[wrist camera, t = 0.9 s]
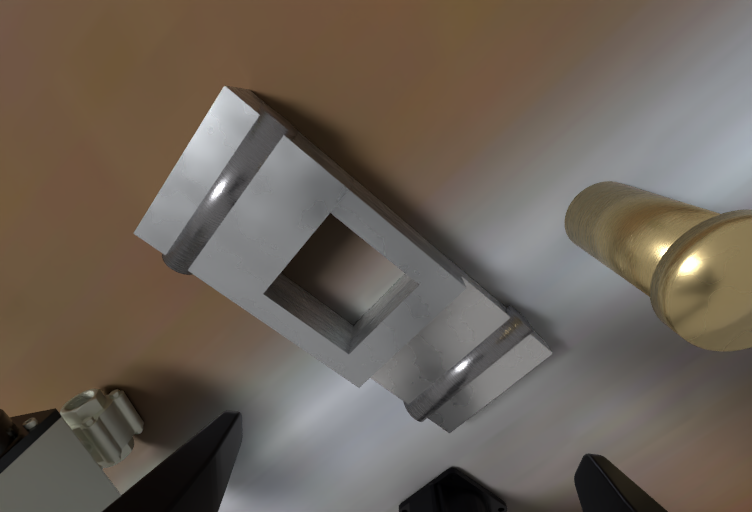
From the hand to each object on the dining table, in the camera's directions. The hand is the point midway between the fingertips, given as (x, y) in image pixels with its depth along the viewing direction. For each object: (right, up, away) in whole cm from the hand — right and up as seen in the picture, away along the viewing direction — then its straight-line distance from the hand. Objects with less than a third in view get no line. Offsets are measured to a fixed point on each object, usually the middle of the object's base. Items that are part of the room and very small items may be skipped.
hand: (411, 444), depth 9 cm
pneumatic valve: (-21, -7, +18) cm, 28 cm away
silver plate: (-2, +3, +13) cm, 13 cm away
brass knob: (+12, +7, +11) cm, 18 cm away
